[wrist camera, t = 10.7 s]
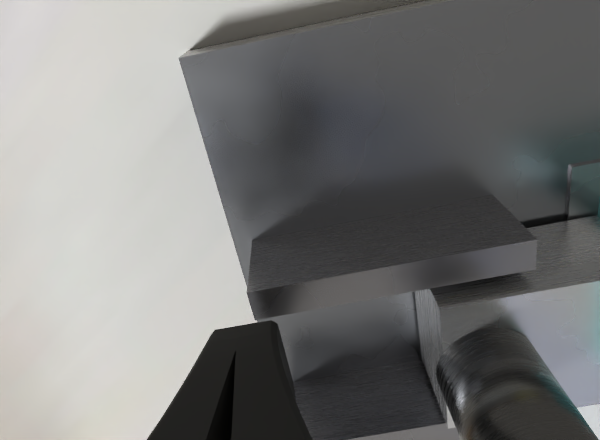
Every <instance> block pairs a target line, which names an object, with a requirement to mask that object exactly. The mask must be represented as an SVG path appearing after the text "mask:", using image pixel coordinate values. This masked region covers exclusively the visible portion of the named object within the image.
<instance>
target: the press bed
mask: <svg viewBox="0 0 600 440" xmlns="http://www.w3.org/2000/svg"><path fill="white" fill-rule="evenodd" d="M179 61H180V64H181V67H182V71H183V74H184V78H185V81H186V84H187V88H188V91H189V94H190V98H191V101H192V104H193V108H194V111H195V114H196V118H197V121H198V124H199V128H200V131H201V134H202V138H203V141H204V144H205V148H206V151H207V154H208V158H209V161H210V165H211V168H212V171H213V175H214V178H215V181H216V185H217V188H218V191H219V195H220V198H221V201H222V205H223V208H224V211H225V215H226V218H227V221H228V225H229V228H230V231H231V235H232V238H233V241H234V245H235V248H236V252H237V255H238V258H239V262H240V265H241V268H242V272H243V275H244V278H245V282H246V285H247V295H248V298H249V302H250V305H251V308H252V312H253V315H254V318H255V320H257V322H264V321H269V320H272V321H274V322H276V323H277V324H278V327H279V330H280V334H281V338H282V342H283V345H284V349H285V353H286V357H287V361H288V364H289V368H290V372H291V376H292V379H293V383H294V389H295V397H296V403H297V406H298V408H299V411H300V413H301V415H302V418H303V420H304V422H305V424H306V426H307V429H308V431H309V433H310V435H311V437H312V439H313V440H460V437H459V434H458V432H457V429H456V427H455V428H449V429H448V427H447V425H446V422H445V419H444V417H443V414H442V411H441V409H440V406H439V403H438V401H437V398H436V395H435V393H434V390H433V387H432V385H431V382H430V380H429V377H428V374H427V372H426V369H425V366H424V364H423V361H422V358H421V350H420V340H419V330H418V319H417V309H416V299H415V291H420V290H425V289H431V288H436V287H442V286H447V285H453V284H458V283H464V282H470V281H475V280H481V279H486V278H492V277H497V276H503V275H508V274H514V273H519V272H525V271H530V270H536V257H537V239H536V238H535V237H534V236H533V235H532V234H531V233H530V232H529V231H528V230H527V229H526V228H531V227H536V226H542V225H547V224H552V223H558V222H563V221H569V220H574V219H579V218H585V217H590V216H598V207H599V197H600V0H425V1H421V2H416V3H411V4H406V5H402V6H397V7H392V8H388V9H383V10H378V11H373V12H369V13H364V14H359V15H355V16H350V17H345V18H340V19H336V20H331V21H326V22H322V23H317V24H312V25H307V26H303V27H298V28H293V29H289V30H284V31H279V32H274V33H270V34H265V35H260V36H256V37H251V38H246V39H241V40H237V41H232V42H227V43H223V44H218V45H213V46H208V47H204V48H199V49H194V50H190V51H187V52H186V53H185V54H183V55H182V56H181V57H179Z"/></svg>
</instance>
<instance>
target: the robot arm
mask: <svg viewBox="0 0 600 440" xmlns="http://www.w3.org/2000/svg"><path fill="white" fill-rule="evenodd" d="M147 440H313V439H312V437H311V435H310V433H309V431H308V429H307V426H306V424H305V422H304V420H303V418H302V415H301V413H300V411H299V408H298V406H297V403H296V397H295V389H294V383H293V379H292V376H291V372H290V368H289V364H288V361H287V357H286V353H285V349H284V345H283V342H282V338H281V334H280V330H279V327H278V324H277V323H276V322H274V321H272V320H269V321H264V322H258V323H252V324H247V325H241V326H235V327H230V328H224V329H218V330H215V331H214V332H213V333H212V335H211V336H210V338H209V340H208V341H207V343H206V345H205V347H204V348H203V350H202V352H201V354H200V355H199V357H198V359H197V361H196V362H195V364H194V366H193V368H192V369H191V371H190V373H189V374H188V376H187V378H186V380H185V381H184V383H183V385H182V386H181V388H180V389H179V391H178V393H177V394H176V396H175V397H174V399H173V401H172V402H171V404H170V405H169V407H168V409H167V410H166V412H165V413H164V415H163V417H162V418H161V420H160V421H159V423H158V424H157V426H156V427H155V429H154V430H153V431H152V433H151V434H150V436H149V437H148V439H147Z"/></svg>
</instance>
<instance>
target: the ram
mask: <svg viewBox="0 0 600 440" xmlns="http://www.w3.org/2000/svg"><path fill="white" fill-rule="evenodd" d="M526 229H527V230H528V231H529V232H530V233H531V234H532V235H533V236H534V237H535V238H536V239H537V257H536V270H530V271H525V272H519V273H514V274H508V275H503V276H497V277H492V278H486V279H481V280H475V281H470V282H464V283H458V284H453V285H447V286H442V287H436V288H431V289H425V290H420V291H415V299H416V309H417V319H418V330H419V340H420V350H421V358H422V361H423V364H424V366H425V369H426V372H427V374H428V377H429V380H430V382H431V385H432V387H433V390H434V393H435V395H436V398H437V401H438V403H439V406H440V409H441V411H442V414H443V417H444V419H445V422H446V425H447V427H448V429H449V428H455V427H456V429H457V432H458V434H459V437H460V440H598V438H597V437H596V435H595V434H594V433H593V431H592V430H591V428H590V427H589V425H588V424H587V423H586V421H585V420H584V418H583V417H582V415H581V414H580V412H579V411H578V410H577V408H576V407H582V406H588V405H594V404H600V218H599V217H598V216H590V217H585V218H579V219H574V220H569V221H563V222H558V223H552V224H547V225H542V226H536V227H531V228H526Z"/></svg>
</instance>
